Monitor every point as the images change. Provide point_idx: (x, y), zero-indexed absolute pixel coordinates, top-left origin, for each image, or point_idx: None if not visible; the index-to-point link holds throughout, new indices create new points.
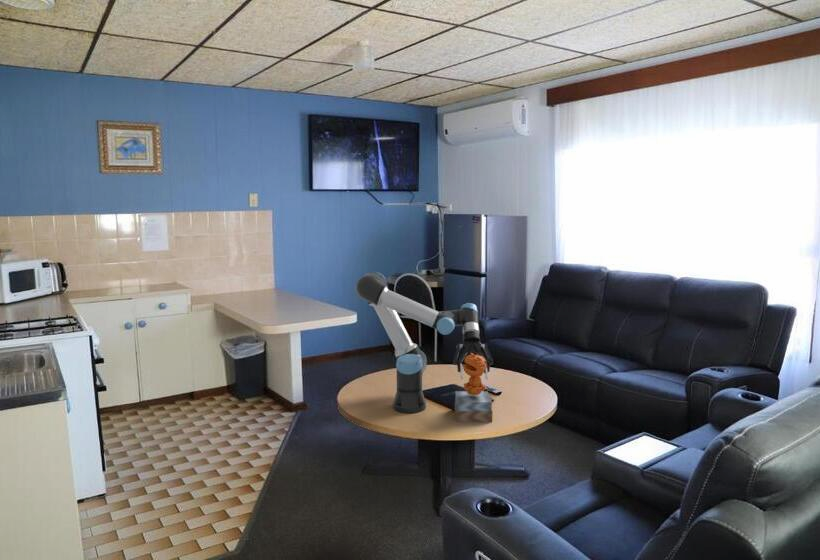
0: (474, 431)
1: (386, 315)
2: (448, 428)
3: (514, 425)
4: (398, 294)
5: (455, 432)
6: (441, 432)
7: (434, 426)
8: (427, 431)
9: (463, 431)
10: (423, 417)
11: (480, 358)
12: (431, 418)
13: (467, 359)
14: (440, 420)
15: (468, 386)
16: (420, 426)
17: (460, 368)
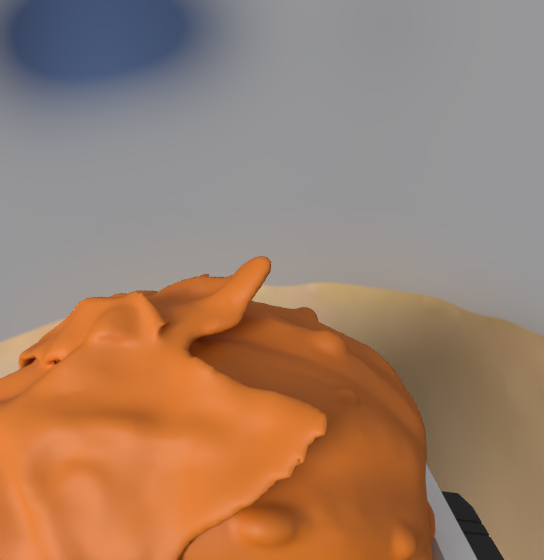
0: (264, 295)
1: None
2: (384, 345)
3: (33, 338)
4: None
5: (353, 297)
6: (416, 305)
7: (453, 379)
8: (480, 324)
9: (315, 302)
10: (532, 529)
11: (95, 298)
12: (481, 504)
13: (381, 373)
14: (426, 463)
15: None
16: (523, 388)
17: (437, 503)
